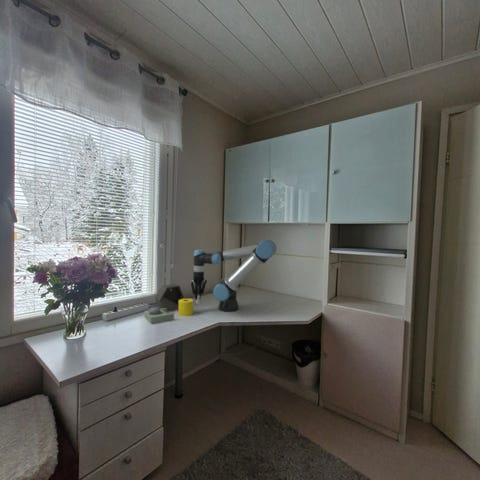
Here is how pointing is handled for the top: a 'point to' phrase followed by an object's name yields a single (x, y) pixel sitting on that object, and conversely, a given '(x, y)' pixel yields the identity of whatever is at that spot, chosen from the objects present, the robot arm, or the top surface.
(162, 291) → the planter
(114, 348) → the top surface
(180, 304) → the yellow cylinder with hole
